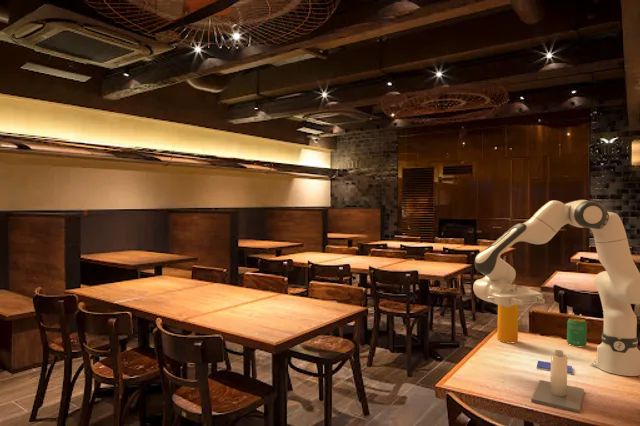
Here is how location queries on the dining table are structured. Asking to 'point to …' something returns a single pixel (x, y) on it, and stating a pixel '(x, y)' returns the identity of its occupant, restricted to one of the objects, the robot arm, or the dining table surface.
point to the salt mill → (558, 374)
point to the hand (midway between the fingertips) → (533, 302)
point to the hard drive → (547, 366)
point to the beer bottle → (508, 323)
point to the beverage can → (576, 331)
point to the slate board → (558, 397)
